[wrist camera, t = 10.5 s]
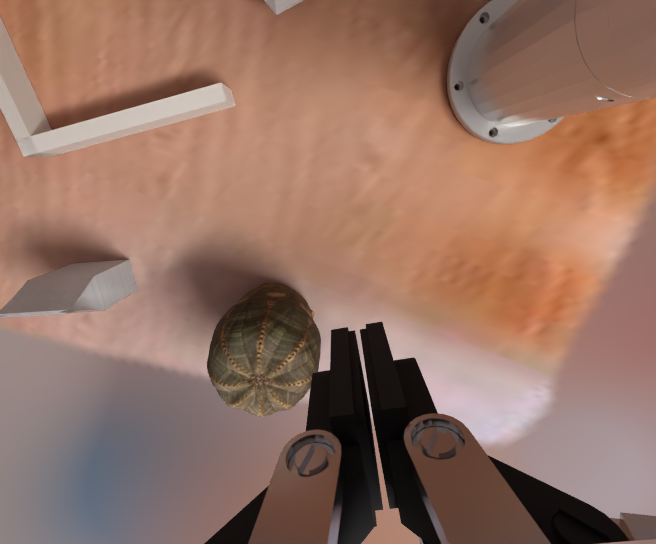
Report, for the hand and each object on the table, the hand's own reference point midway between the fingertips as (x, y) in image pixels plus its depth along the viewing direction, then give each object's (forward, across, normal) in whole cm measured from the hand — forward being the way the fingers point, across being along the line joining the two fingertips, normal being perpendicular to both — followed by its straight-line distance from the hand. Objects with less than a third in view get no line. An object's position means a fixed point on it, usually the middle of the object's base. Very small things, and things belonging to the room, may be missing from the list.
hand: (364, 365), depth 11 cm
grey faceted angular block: (+27, +28, +1) cm, 39 cm away
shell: (+27, +10, +10) cm, 30 cm away
